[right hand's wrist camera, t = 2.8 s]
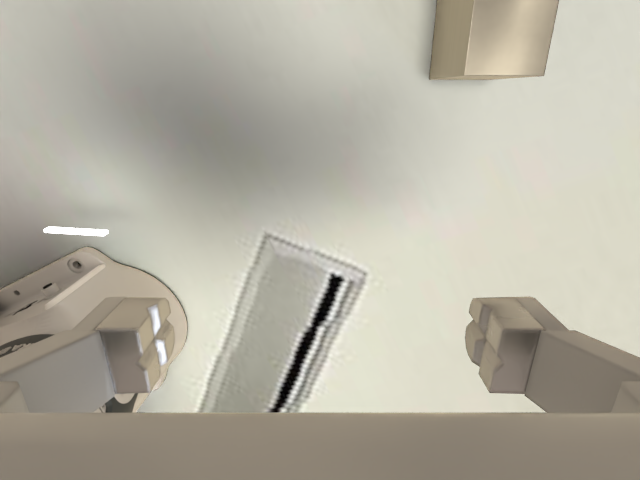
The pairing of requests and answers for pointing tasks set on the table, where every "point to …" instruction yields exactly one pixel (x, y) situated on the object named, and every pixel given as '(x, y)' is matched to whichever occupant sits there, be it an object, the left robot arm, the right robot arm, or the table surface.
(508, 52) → the bar
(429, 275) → the table surface
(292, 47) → the table surface
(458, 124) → the table surface
